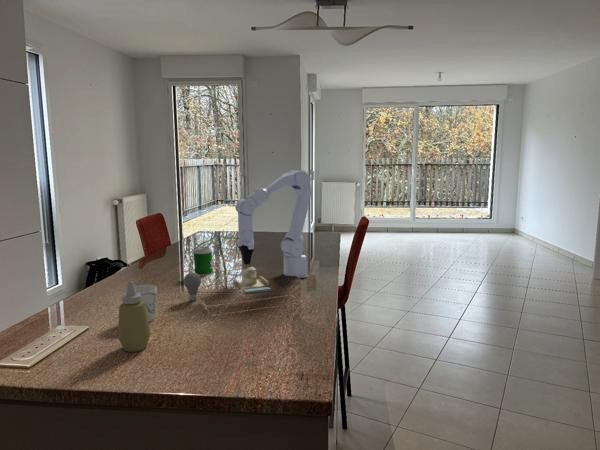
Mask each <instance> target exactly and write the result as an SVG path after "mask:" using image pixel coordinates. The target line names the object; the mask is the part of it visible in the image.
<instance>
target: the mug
mask: <svg viewBox="0 0 600 450" xmlns="http://www.w3.org/2000/svg"><path fill="white" fill-rule="evenodd" d="M134 286H135V289H136V292H137V293H140V294H141V301H143V302H144V303H145V304H146V309H147V315H148V320H149V323H150V322H153V321H154V320H155V319H156V313H157V303H158V287H157V286H156V285H153V284H140V285H139V284H138V285H134Z"/></svg>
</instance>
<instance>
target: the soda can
mask: <svg viewBox="0 0 600 450" xmlns="http://www.w3.org/2000/svg"><path fill="white" fill-rule="evenodd" d="M193 264H194V265H193V266H194V273H197V274H198V275H199V276H200V277H204V276H210V275H212V274H213V273H214V267H213V265H214V264H213V250H212V248H210V246H209V247H208V246H201V247H200V246H199V247H196V248H195V249H193Z"/></svg>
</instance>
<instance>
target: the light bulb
mask: <svg viewBox="0 0 600 450" xmlns="http://www.w3.org/2000/svg"><path fill="white" fill-rule="evenodd" d="M182 282H183V285H184V286H185V289H186V290H187V294H188V296H189V300H190V301H192V302H194V301H197V299H198V297H197V296H198V290H199V288H200V286H201V283H202V278H201V276H199V275H198V274H197V273H195V271H194V272H188V273H186V275H184V278H183V281H182Z"/></svg>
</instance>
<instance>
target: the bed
mask: <svg viewBox="0 0 600 450" xmlns="http://www.w3.org/2000/svg"><path fill="white" fill-rule="evenodd" d="M232 283H233V284H234V285H235V286H236V287H237V289H239V290H245V289H253V288H261V287H268V286H270V282H269V280H267V279H266V278H264V277H263V275H259V278H257V283H256V284H247V285H245V284H244V283H243V282H242V280H241V281H238V280H237V279H236V278H232Z"/></svg>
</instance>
